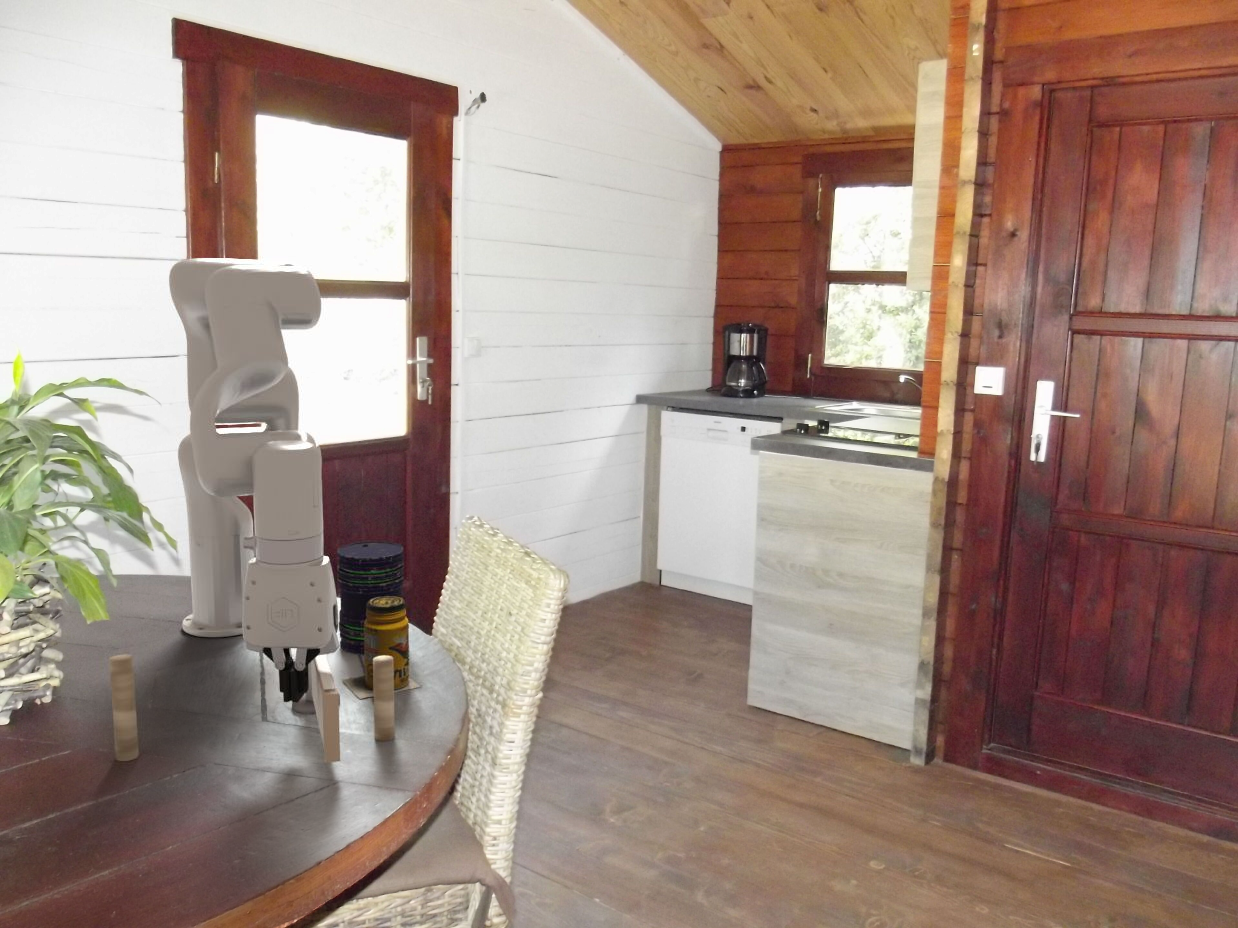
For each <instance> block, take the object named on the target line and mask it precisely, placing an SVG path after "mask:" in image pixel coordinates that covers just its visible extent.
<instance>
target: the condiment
mask: <svg viewBox="0 0 1238 928" xmlns="http://www.w3.org/2000/svg"><path fill="white" fill-rule="evenodd" d="M406 607H407V606H406V601H405V599H403V597H402V598H399V597H395V596H382V597H376V598H373V599H371V600H369V601H368V603H367V605H366V608H367V612H366V617H367V619H366V620H365V622H364V655H363V656H364V661H363V663H364V675H362V676H357V677H347V678H344V679H342V682H343V683H344V684H345V686H346V687H348V689H349V690H350V691H351V692H352V693H354V694H355V696H356V697H358V699H360V700H361V699H365V698H370V697H374V687H373V659H374V658H375V657H377V656H384V655H386V656H391V657H393V668H394V693H398V692H403V691H408V690H411V689H412V690H413V689H416V688H420V685H419V684H418V683H416V682H415V681H414V680H413V679H411V678H410V642H409V641H410V640H409V639H410V635H409V634H410V633H409V632H410V631H409V629H410V627H409V626H410V624H409V619H408V618H407V612H406Z"/></svg>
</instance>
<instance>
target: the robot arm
mask: <svg viewBox="0 0 1238 928" xmlns="http://www.w3.org/2000/svg"><path fill="white" fill-rule="evenodd" d="M168 277H169V278H168V283H169V284H168V285H169V293H170V297H171V300H172V302H173V305H174V308H175V309H176V312H177V314H178V317H179V318H180V320H181V323H182V325H183V329H184V332H185V337H186V367H187V368H186V370H187V372H186V373H187V375H186V377H187V398H188V399H187V400H188V407H189V411H190V419H189V434H187V435H186V436H185V437H184V438H183V439H182V440H181V441H180V443H179V445H178V450H177V458H178V459H177V460H178V466H179V471H180V476H181V481H182V485H183V490H184V497H185V504H186V514H187V516H186V517H187V532H188V545H189V564H190V565H189V566H190V567H189V568H190V570H189V571H190V584H191V585H190V589H191V605H192V606H191V608H192V613H190V614H189V615H187V616H186V617H185V618H184V619H183V620H182V630H183V631H184V632H185V633H187V634H189V635H191V636H196V637H201V638H224V637H233V636H239V635H242V638H243V640H244V643H245V649H247V650H248V651H251V652H255V653H259V654H264V655H265V656H266V657H267V658H268V659H269V660H270V661H271V662H272V663H273V664H274V665H273V666H274V668H275V669H276V670H277V671H278V680H279V681H278V683H279V684H278V686H279V687H278V688H279V689H278V690H279V692H280V693H282V696H283V697H282V698H283V699H282V700H283V701H282V702H283V703H289V702H292V701H293V702H294V703H298V702H299V700H300V699H301V698H302V697H303V695H304V694H305V693H306V692H307V691H308V688H309V675H308V664H309V663H310V662H311V661H312V660H313V659H315V658H316V657H317V656H318V655H325V654H326V655H329V654H334V653H336V652H337V650H339V648H340V641H339V638H338V634H337V633H338V632H339V607H338V597H337V589H336V583H335V578H334V572H333V568H332V564H331V560H330V558H329V556H326V555H324V553H325V552H324V547H325V546H324V516H323V515H324V513H323V512H324V511H323V481H322V480H323V479H322V467H323V458H322V451H321V447H320V445H319V443H318V442H317V441H316V440H315V439H314V437H313V436H312V435H311V434H310V433H308V432H306V431H303V430H299V418H300V417H299V415H300V413H299V412H300V399H299V398H300V397H299V396H300V395H299V394H300V393H299V386H298V381H297V377H296V375H295V373H294V371H293V369H292V368H291V367H290V366H289V358H288V354H287V350H286V347H285V342H284V341H285V340H284V337H283V333H282V331H283V330H287V331H288V330H293V331H294V330H295V331H296V330H298V331H299V330H300V331H301V330H310V329H312V328H314V327H315V326H316V325H317V324H318V322H319V319H320V317H321V313H322V299H321V297H322V296H321V293H320V288H319V285H318V283H317V281H316V279H315V277H314V275H313V274H312V273H311V271H309V270H308V269H307V268H306V267H304V266H302V265H299V264H296V263H294V262H292V261H287V260H285V261H284V260H273V259H272V260H270V259H269V260H268V259H267V260H266V259H239V258H222V257H221V258H218V257H217V258H214V257H213V258H212V257H210V258H209V257H206V258H205V257H201V258H200V257H197V258H187V259H183V260H180V261H178V262H176V263H175V264H174V265H173V266H172V267H171V269H170V271H169V275H168ZM243 424H247V425H249V424H250V425H251V424H265V425H266V426H254V427H253V426H251V427H248V426H247V427H227V428H226V427H225V428H224V427H223V428H217V425H220V426H221V425H222V426H224V425H226V426H227V425H243ZM242 496H252V497H253V516H252V512H251V510H250V509H249V507H248V506H247V505H246V504H245V503H244V502H243V501H242V500H241V499H239V497H242ZM253 518H254V519H253ZM292 649H296V651H295V660H294V658H293V653H292Z"/></svg>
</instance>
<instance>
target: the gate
mask: <svg viewBox="0 0 1238 928" xmlns="http://www.w3.org/2000/svg"><path fill="white" fill-rule="evenodd" d="M308 675H309V688H308V691H307V692H306V699H307V700H309V701H313V702H314V706H315V711H316V714H315V715H316V720H317V723H318V724H317V725H318V727H319V732H320V736H321V741H322V745H323V759H324V762H325V763H324V764H328V763H329V764H330V763H337V762H340V761H341V743H340V742H341V739H340V737H341V736H340V734H341V733H340V705H339V695H340V693H339V690H338V687H336V684H335V680H334V677H333V673H332V670H331V667H330V663H329V660H328V656H327V654H325V655H318V656H317V657H316V658H315V659H313V660H312V661H311V662H310V663H309V664H308Z"/></svg>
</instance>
